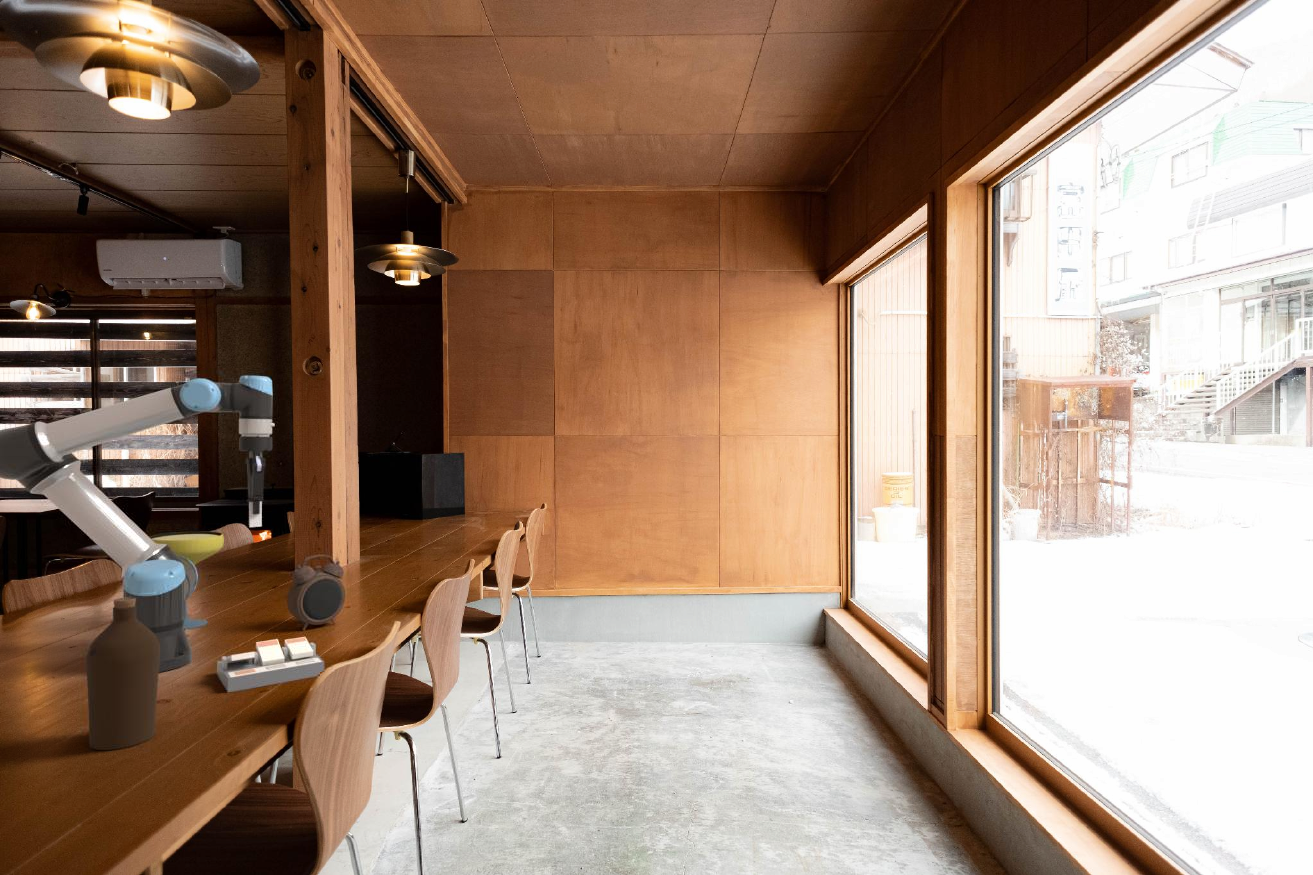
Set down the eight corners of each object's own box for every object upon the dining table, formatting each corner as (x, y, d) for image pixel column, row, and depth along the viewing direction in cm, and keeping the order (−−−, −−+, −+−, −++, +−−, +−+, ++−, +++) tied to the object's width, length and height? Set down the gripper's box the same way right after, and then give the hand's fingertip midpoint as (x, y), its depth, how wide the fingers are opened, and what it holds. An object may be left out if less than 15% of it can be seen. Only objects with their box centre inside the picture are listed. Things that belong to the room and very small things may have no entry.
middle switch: (262, 666, 161) (262, 661, 160) (255, 646, 166) (256, 641, 166) (284, 662, 164) (284, 657, 163) (277, 643, 169) (277, 638, 169)
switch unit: (227, 692, 153) (228, 667, 153) (216, 674, 163) (217, 651, 163) (324, 674, 165) (324, 651, 165) (307, 659, 175) (308, 637, 175)
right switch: (292, 659, 164) (292, 654, 164) (284, 644, 170) (284, 639, 170) (313, 655, 167) (313, 650, 167) (304, 641, 173) (305, 636, 173)
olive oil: (136, 751, 124) (138, 606, 124) (69, 753, 123) (71, 606, 123) (171, 726, 135) (173, 592, 135) (110, 727, 134) (112, 592, 134)
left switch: (231, 660, 157) (231, 654, 157) (225, 662, 162) (225, 656, 163) (254, 657, 159) (254, 651, 160) (248, 659, 165) (247, 653, 165)
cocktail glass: (237, 620, 209) (239, 533, 209) (181, 636, 191) (182, 542, 191) (187, 614, 214) (189, 529, 214) (128, 630, 196) (129, 538, 196)
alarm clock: (297, 634, 196) (299, 560, 196) (284, 629, 200) (286, 557, 200) (348, 623, 208) (350, 553, 207) (335, 619, 212) (336, 550, 212)
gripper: (276, 436, 185) (275, 528, 186) (268, 435, 196) (267, 522, 196) (242, 435, 181) (242, 530, 181) (236, 435, 192) (235, 524, 192)
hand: (255, 526), depth 189 cm, fingers closed
